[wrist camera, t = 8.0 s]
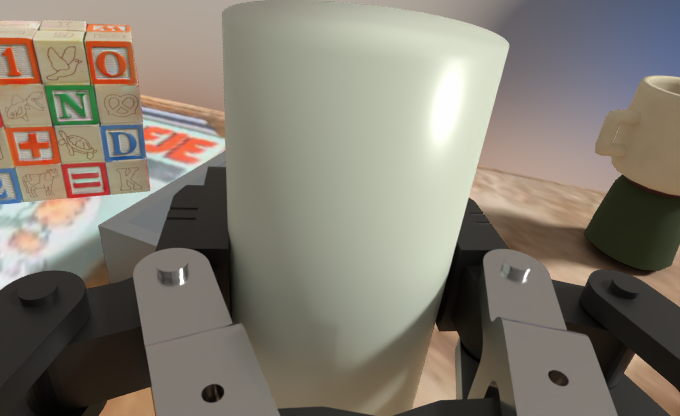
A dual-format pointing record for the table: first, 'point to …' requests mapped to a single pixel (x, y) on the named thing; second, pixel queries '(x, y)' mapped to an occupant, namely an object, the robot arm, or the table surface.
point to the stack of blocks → (69, 112)
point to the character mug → (642, 178)
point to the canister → (348, 188)
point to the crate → (144, 224)
